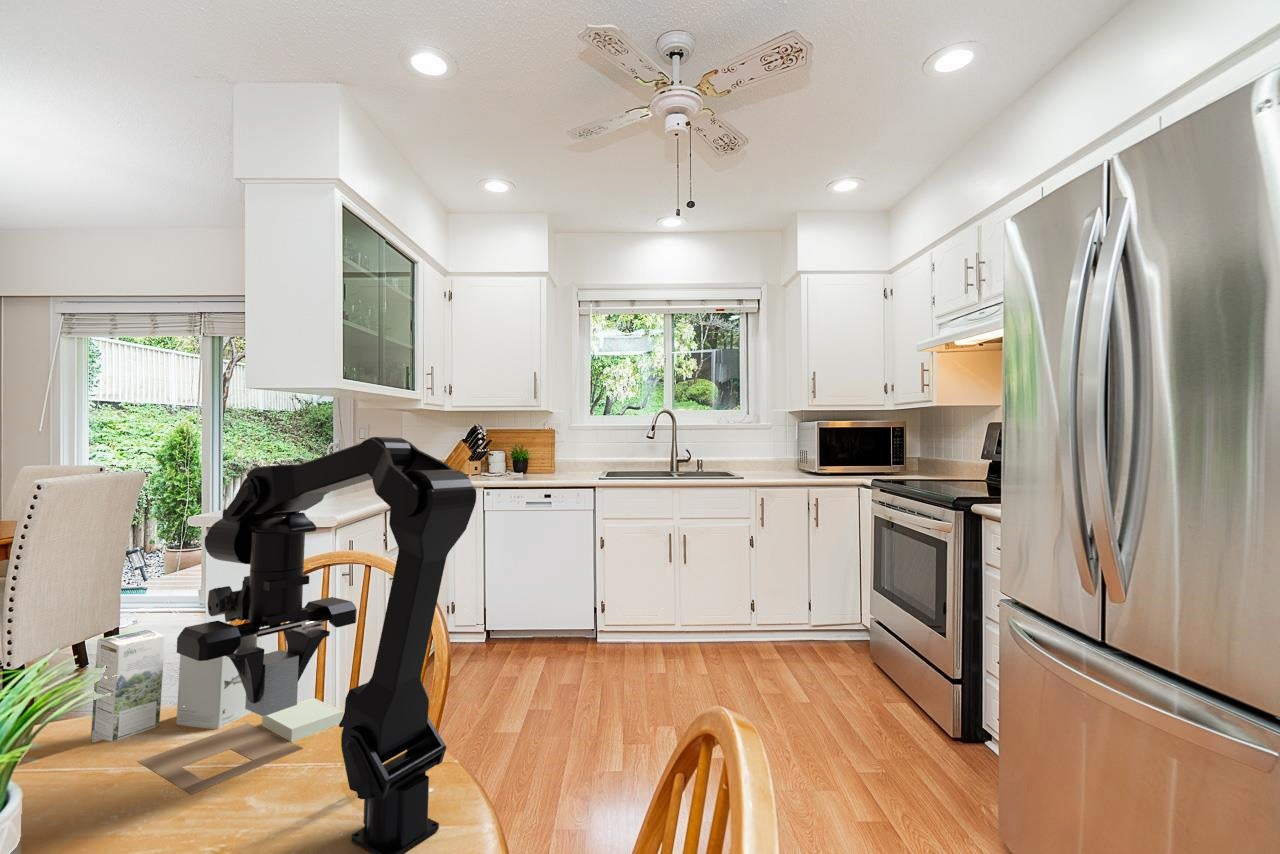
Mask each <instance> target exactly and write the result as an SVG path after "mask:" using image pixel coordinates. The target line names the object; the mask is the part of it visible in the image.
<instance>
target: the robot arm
mask: <svg viewBox="0 0 1280 854" xmlns="http://www.w3.org/2000/svg"><path fill="white" fill-rule="evenodd" d="M371 480H372V485H373V488H374V493H375V494H376V495H377V496H378V497H379V498H380V499H381V500H382V501H383V502H384V503H386V504H387V505H388V507H390V510H389V519H388V520H389V523H388V524H389V527H390V530H391V532H392V535H393V537H394V540H395V542H396V545H397V548H398V552H397V558H396V562H395V567H394V571H393V576H392V580H391V581H392V582H391V585H390V586H391V587H390V590H389V597H388V600H387V605H386V609H385V613H384V614H385V615H384V620H383V625H382V630H381V635H380V638H379V644H378V649H377V652H376V658H375V662H374V667H373V672H372V675H371V677H370V679H369V681H368V682H366V683H363V684H361V685H358V686H356V687H353V688H350V689H349V690H348V692H347V693H346V697H345V702H344V710H343V718H342V720H341V722H340V724H339V725H338V727H339V728H342V731H341V738H340V739H341V740H340V741H341V745H340V746H341V752H342V753H341V754H342V758H343V762H344V767H345V772H346V777H347V783H348V786H349V790H350V791H352V792H356V794H357V799H359V800H363V801H364V802H363V825H364V827H362V828H361V829H359V830H357V831H355V832H353V833H352V834H351V836H350V837H351V838H350V840H351V842H352V843H354V844H356V845H358V846H360V847H361V848H364V849H365V850H367V851H368V852H370V853H372V854H403V853H405V852H406V851H408V850H409V849H411V848H412V847H414V846H416V845H417V844H418V843H420V842H421V841H423V840H425V839H426V838H428V837H430V835H432V834H434V833H435V832H436V831H438V830H440V823H439V822H437V821H435V820H433V819H431V818H429V794H430V793H429V792H430V790H429V788H430V787H429V785H430V777H429V776H428V775H426V774H427V773H426V772H428V771H429V770H430V769H432V768H434V767H435V766H439V765H440V764H442V762H443V760H444V757H445V753H446V752H447V745H446V743H445V742H444V741H443V738H442V736H441V735H440V733H439V732H438V731H437V729H436V727H435V726H434V723H433V722H432V720H431V719H430V717H429V708H430V707H429V706H430V699H429V694H428V693H427V690H426V688H425V686H424V684H423V681H422V673H423V669H424V668H423V667H424V664H425V659H426V653H427V650H428V644H429V640H430V635H431V633H432V627H433V621H434V616H435V612H436V608H437V604H438V600H439V599H438V598H439V593H440V588H441V584H442V579H443V575H444V570H445V566H446V562H447V561H446V560H447V557H448V555H449V552H450V551H451V550H452V548H453V547H454V546H455V544H457V542H458V541H459V539H460V538H461V537H462V536H463V534H464V533H465V532H466V530H467V528H468V525H469V522H470V520H471V517H472V514H473V511H474V510H475V506H476V503H477V489H476V487H475V486H474V485H473V483H472V481H471V478H470V477H469V476H468V475H467V474H466V473H465V472H463V471H461V470H460V469H453V468H452V467H451V466H450V465H449V464H448V463H446V462H444V461H442V460H440V459H438V458H436V457H434V456H431V455H430V454H428V453H425V452H424V451H422V450H420V449H418V448H417V447H416V446H415V445H413V444H412V442H410V441H408V440H406V439H404V438H402V437H391V436H389V437H388V436H387V437H386V436H373V437H369V438H368V439H367V438H366V439H365V440H363V441H362V442H361V443H358V444H355V445H352V446H349V447H346V448H344V449H340V450H337V451H335V452H331V453H329V454H325V455H322V456H321V457H317V458H315V459H311V460H309V461H305V462H303V463H298V464H296V463H295V464H280V465H265V466H255V467H253V468H251V470H249V471H248V473H247V474H246V478H245V479H244V480H243V482H242V483H241V485H240V487H239V489H238V490H237V493H236V495H235V497H234V498H233V500H232V501H231V502H230V504H229V505H228V507H227V508H224V509H223V510H222V518H220V519H218V520H217V521H216V522H214V524H212V526H211V527H210V528H209V529H208V531H207V533H206V535H205V536H204V548H205V549H206V550H205V551H206V553H208V555H209V556H210V557H211V558H213V559H215V560H218V561H222V562H228V563H230V562H231V563H234V564H235V563H237V564H245V565H250V566H249V569H250V570H249V575H248V576H247V575H246V576H243V580H242V586H241V589H240V590H235V591H233V590H232V588H231V586H229V585H227V586H221V587H214V588H212V589H209V590H208V597H207V611H208V615H209V616H210V617H215V616H220V615H224V619H225V620H224V621H225V622H224V621H220V620H214V621H209V622H203V623H199V624H193V625H188V626H186V627H184V628H183V629H182V630H181V632H180V633H179V635H178V636H177V638H176V640H177V641H176V653H177V654H179V655H180V654H182V655H184V656H187V657H189V658H192V659H195V660H197V661H207V660H211V659H215V658H219V657H223V656H227V657H229V658H230V659H231V661H232V662H233V664H234V666H235V667H236V669H237V671H238V674H239V676H240V679H241V681H242V684H243V687H244V689H245V692H246V694H247V697H248V700H249V702H251V703H253V704H254V703H257V701H258V697H259V693H260V687H261V678H262V668H263V660H264V654H265V648H262V647H261V648H259V647H257V637H260V636H262V637H264V636H267V635H268V636H269V635H273V634H276V633H281V632H283V635H284V638H285V641H286V645H287V646H286V647H287V648H286V652H289V653H292V654H296V655H299V666H298V682H299V681H300V679H301V677H302V675H303V673H304V671H305V670H306V668H307V666H308V664H309V662H310V661H311V659H312V657H313V655H314V654H315V653H316V651H317V649H318V648H319V646H320V644H321V642H322V641H323V640H324V638H327V637H329V636H330V634H331V632H330V630H326V629H324V626H325V625H324V623H325V622H326V621H328V622H329V624H330V625H332V626H333V627H334V628H337V629H338V628H341V627H344V626H349V625H354V624H356V623H357V613H358V612H357V610H358V608H357V607H356V605H355V603H354V602H353V601H351V600H347V599H342V598H337V597H334V596H330V597H325V598H322V599H321V598H320V599H317V600H311V601H307V603H306V605H305V606H304V607H303V592H304V589H303V588H304V586H305V585H309V584H310V575H307V574H304V568H305V565H304V564H305V541H306V540H305V539H306V533H313V532H316V531H317V525H316V524H315V523H314V522H313V520H310V518H308V517H307V515H306V513H305V512H303V511H307V510H309V509H310V508H312V507H314V506H315V505H317V504H320V503H321V502H322V501H323V500H324V498H325V495H327V494H329V493H331V492H334V491H335V492H336V491H337V490H340V489H344V488H347V487H350V486H354V485H358V484H361V483H364V482H367V481H371ZM236 620H238V621H242V622H243V621H247V622H245V623H241V624H236V625H234V624H230V623H229V622H234V621H235V622H236ZM392 758H393V759H392Z"/></svg>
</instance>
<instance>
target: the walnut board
mask: <svg viewBox="0 0 1280 854" xmlns="http://www.w3.org/2000/svg"><path fill="white" fill-rule="evenodd" d="M303 749H304V747H303V746H300V745H298V744H295V743H293V742H290V741H289V740H287V739H285V738H283V737H281V736H279V735H278V736H277V735H275V734H273V733H271V732H268V731H266V730H264V729H262V728H260V727H258V726H255V725H253V724H250V723H249V722H246V723H243V724H241V725H237V726H235V727H231V728H229V729H227V730H223V731H221V732H218V733H215V734H212V735H209V736H205V737H203V738H201V739H198V740H195V741H194V740H193V741H191V742H189V743H186V744H183V745H181V746H178V747H175V748H172V749H169V750H166V751H163V752H161V753H157V754H154V755H152V756H149V757H146V758H143V759H140V760H138V761H137V763H139V764H141V765H142V766H144V767H145V768H147V769H149V770H151V771H152V772H154V773H156V774H157V775H159V776H160V777H162V778H163V779H164V780H166V781H168V782H170V783H171V784H174V785H175V786H176V787H178V788H180V789H181V790H183V791H185V792H186V793H188V794H190V795H194V794H196V793H199V792H201V791H203V790H206V789H208V788H212V787H213V786H216V785H219V784H221V783H223V782H225V781H228V780H230V779H233V778H236V777H238V776H241V775H243V774H245V773H247V772H250V771H252V770H254V769H255V770H256V769H257V768H259V767H262V766H264V765H267V764H269V763H271V762H274V761H276V760H278V759H279V760H280V759H281V758H284V757H285V756H289V755H291V754H293V753H296V752H299V751H301V750H303ZM230 750H231V751H233V752H235V753H237V754H239V755H241V756H243V757H246V758H248V759H249V760H250V761H248V762H245V763H243V764H240V765H237V766H235V767H233V768H230V769H228V770H226V771H223V772H220V773H218V774H216V775H213V776H210V777H208V778H205V779H203V778H201V777H199V776H197V775H196V774H194V773H192V772H191V771H189V770H187V769H185V767H186V766H189V765H193V764H195V763H198V762H200V761H203V760H205V759H209V758H210V757H213V756H216V755H218V754H222V753H224V752H226V751H230Z"/></svg>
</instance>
